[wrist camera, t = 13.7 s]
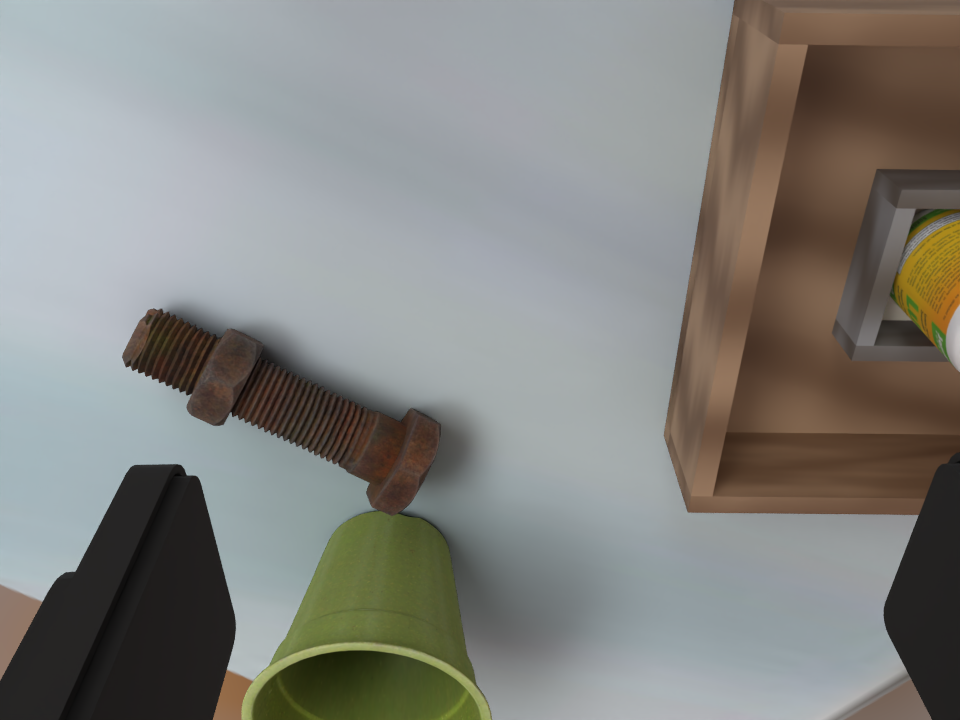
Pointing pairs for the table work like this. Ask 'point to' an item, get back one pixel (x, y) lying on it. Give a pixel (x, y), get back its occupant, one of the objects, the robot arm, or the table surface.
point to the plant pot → (374, 633)
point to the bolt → (286, 406)
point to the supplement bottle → (932, 279)
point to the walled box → (819, 264)
